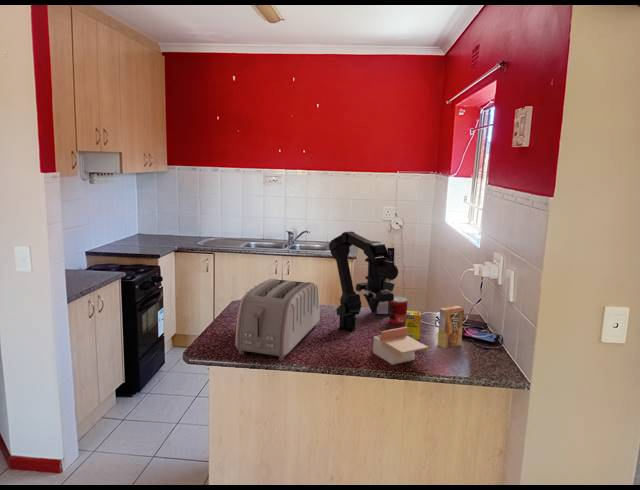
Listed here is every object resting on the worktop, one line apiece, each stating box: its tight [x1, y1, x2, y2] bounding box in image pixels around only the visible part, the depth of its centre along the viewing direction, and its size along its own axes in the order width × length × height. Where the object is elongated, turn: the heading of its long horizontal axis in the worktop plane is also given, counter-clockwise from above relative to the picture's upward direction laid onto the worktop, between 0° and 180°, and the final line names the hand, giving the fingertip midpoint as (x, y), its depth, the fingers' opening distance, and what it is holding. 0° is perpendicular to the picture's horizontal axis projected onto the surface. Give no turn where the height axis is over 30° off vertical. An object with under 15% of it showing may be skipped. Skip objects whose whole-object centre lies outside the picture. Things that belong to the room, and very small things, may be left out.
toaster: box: [235, 278, 321, 361], centre depth 188 cm, size 21×45×22 cm, turn 163°
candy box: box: [437, 305, 465, 349], centre depth 186 cm, size 9×4×15 cm, turn 116°
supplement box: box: [404, 310, 422, 342], centre depth 193 cm, size 6×6×11 cm
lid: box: [380, 326, 429, 359], centre depth 169 cm, size 13×11×5 cm
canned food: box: [388, 296, 408, 326], centre depth 212 cm, size 8×8×11 cm
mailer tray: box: [372, 335, 416, 366], centre depth 175 cm, size 12×10×6 cm
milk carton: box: [373, 279, 392, 317], centre depth 223 cm, size 7×7×20 cm
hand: (373, 312), depth 188 cm, fingers closed
